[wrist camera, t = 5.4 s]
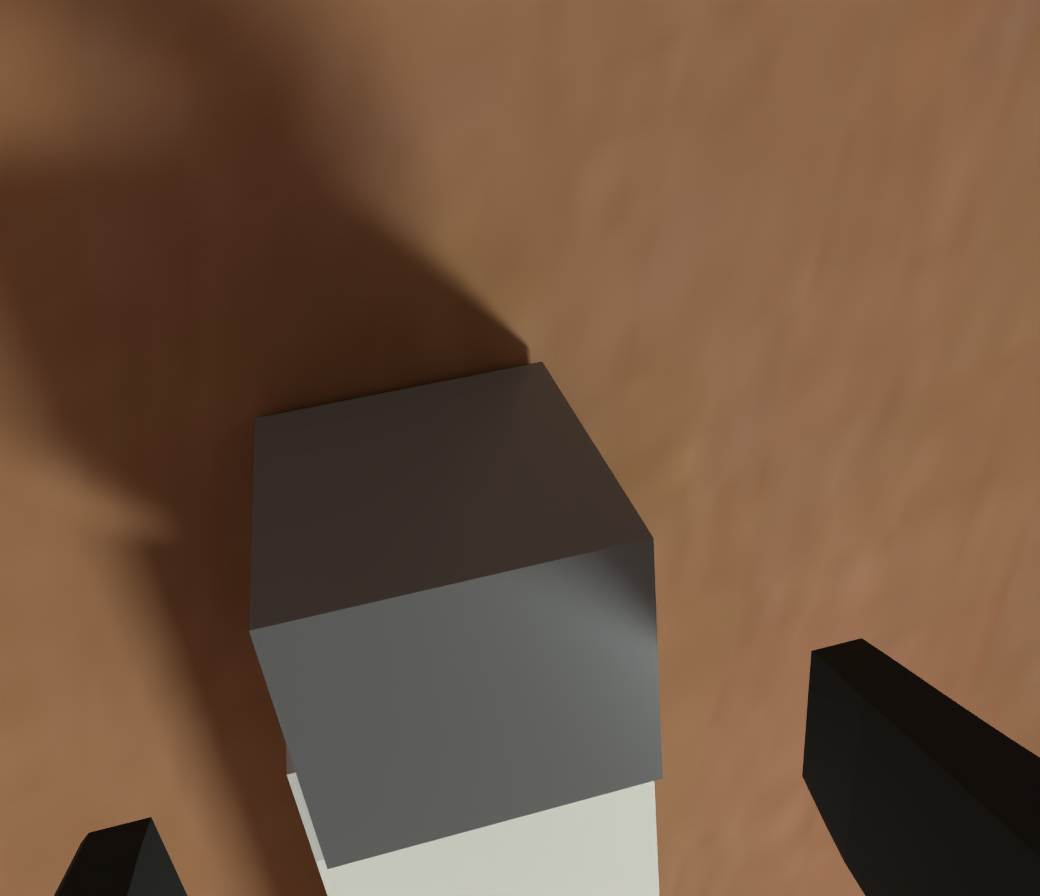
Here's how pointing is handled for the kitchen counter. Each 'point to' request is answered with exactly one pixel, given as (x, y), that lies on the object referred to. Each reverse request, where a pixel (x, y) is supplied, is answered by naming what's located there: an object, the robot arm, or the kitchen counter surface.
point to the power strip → (516, 854)
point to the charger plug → (450, 610)
